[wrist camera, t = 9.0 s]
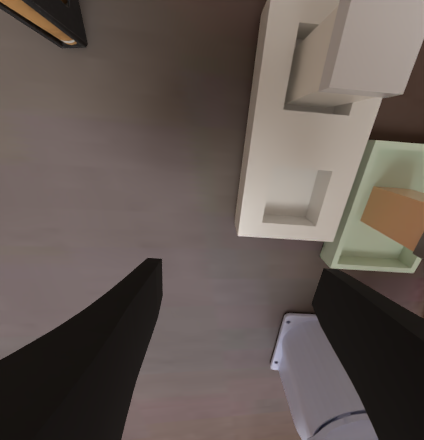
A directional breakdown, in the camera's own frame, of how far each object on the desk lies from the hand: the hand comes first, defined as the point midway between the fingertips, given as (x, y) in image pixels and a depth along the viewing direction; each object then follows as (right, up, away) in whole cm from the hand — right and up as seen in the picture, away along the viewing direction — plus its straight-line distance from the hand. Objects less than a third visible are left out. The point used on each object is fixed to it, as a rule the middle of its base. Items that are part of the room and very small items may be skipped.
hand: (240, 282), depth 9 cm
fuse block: (+5, +9, +7) cm, 13 cm away
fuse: (+6, +13, +5) cm, 15 cm away
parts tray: (+14, +4, +10) cm, 17 cm away
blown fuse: (+14, +4, +9) cm, 17 cm away
